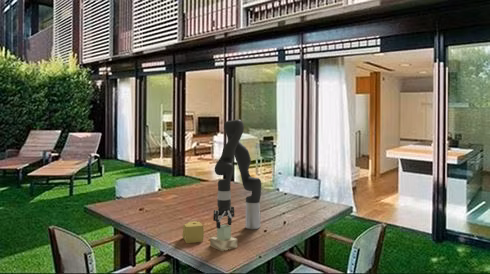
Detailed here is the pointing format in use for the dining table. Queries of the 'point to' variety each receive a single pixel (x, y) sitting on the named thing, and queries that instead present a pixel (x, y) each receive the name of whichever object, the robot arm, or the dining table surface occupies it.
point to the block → (224, 232)
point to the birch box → (223, 243)
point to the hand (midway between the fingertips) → (224, 226)
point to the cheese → (193, 232)
